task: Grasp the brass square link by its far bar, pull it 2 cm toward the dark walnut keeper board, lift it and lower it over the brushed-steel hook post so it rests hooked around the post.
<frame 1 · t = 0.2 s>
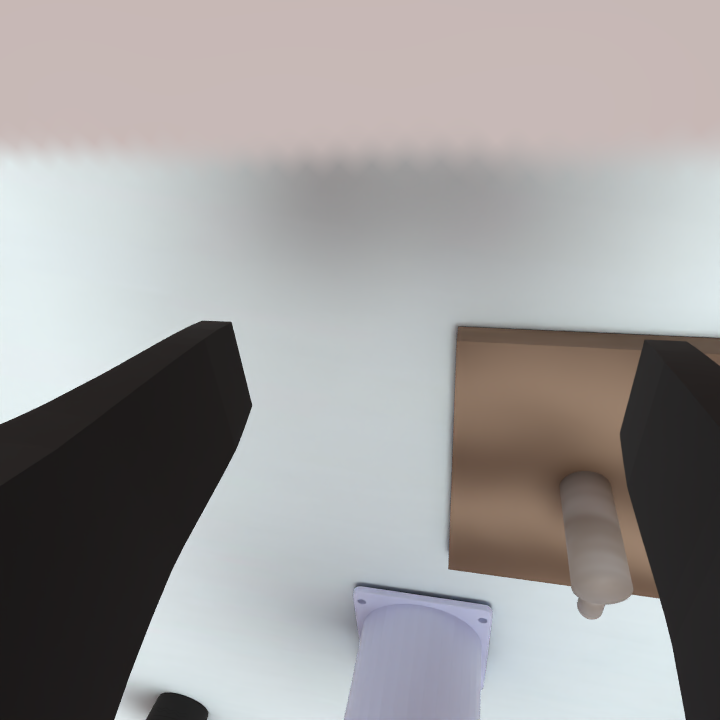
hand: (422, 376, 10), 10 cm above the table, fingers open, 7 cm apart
keeper board: (582, 470, 23), on the table
drinking cup: (184, 703, 50), on the table
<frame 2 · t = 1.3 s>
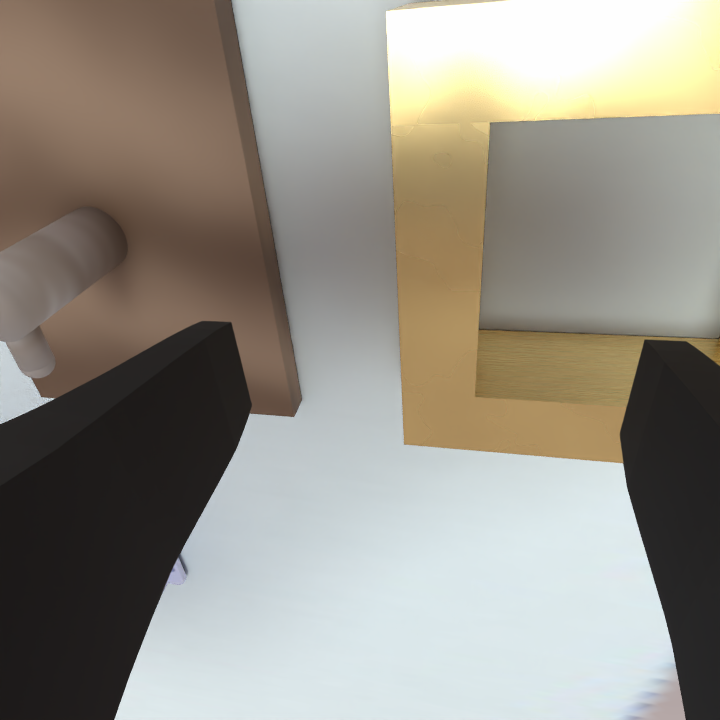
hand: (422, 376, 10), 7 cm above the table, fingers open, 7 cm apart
keeper board: (115, 225, 18), on the table
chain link: (614, 226, 15), on the table
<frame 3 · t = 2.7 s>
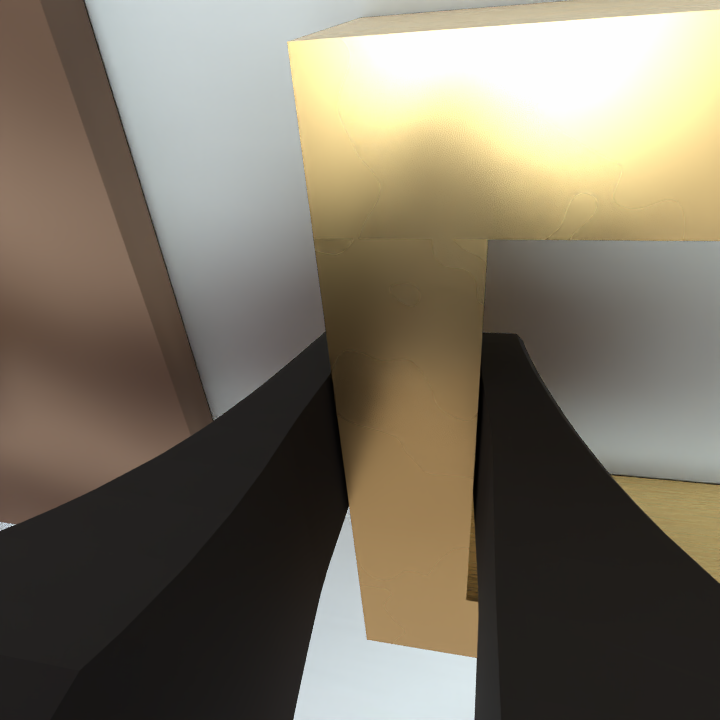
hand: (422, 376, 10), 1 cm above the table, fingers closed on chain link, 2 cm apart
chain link: (674, 345, 10), on the table, touching gripper
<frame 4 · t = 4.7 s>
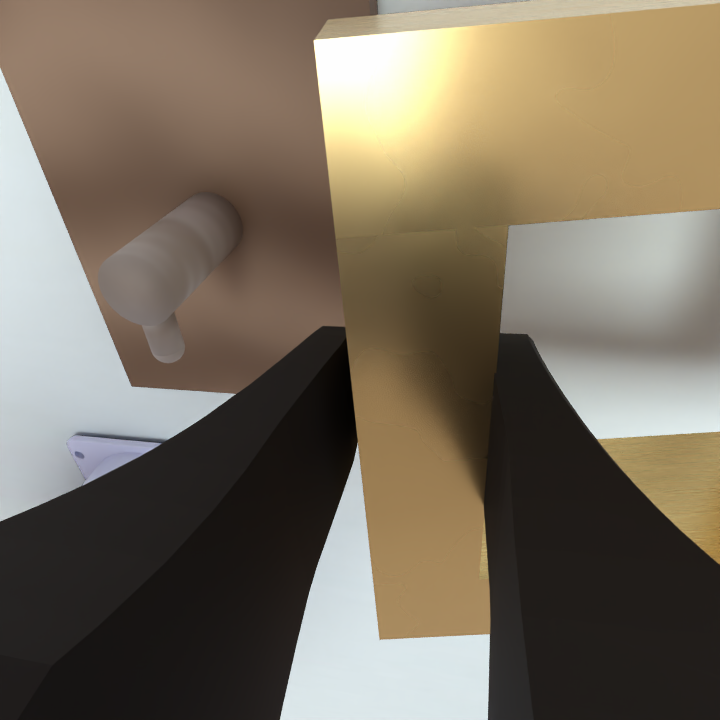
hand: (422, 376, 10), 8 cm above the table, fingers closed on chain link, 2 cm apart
keeper board: (225, 212, 18), on the table
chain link: (627, 313, 11), point 6 cm above the table, tilted 12°, touching gripper
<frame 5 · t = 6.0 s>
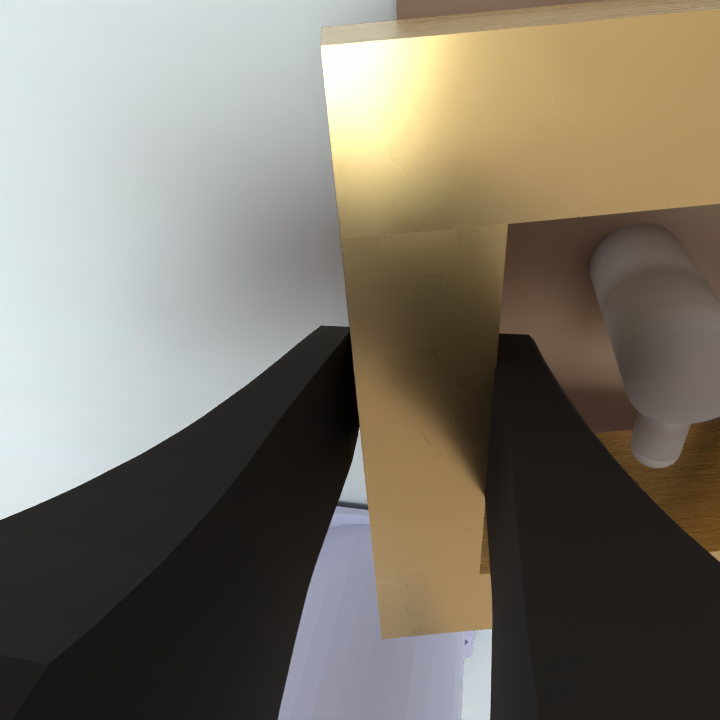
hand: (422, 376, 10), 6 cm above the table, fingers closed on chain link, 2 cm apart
keeper board: (626, 246, 14), on the table
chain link: (613, 309, 11), point 3 cm above the table, tilted 15°, touching gripper
when the fingers open (4 cm above the table, at t = 6.8 s): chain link stays where it is, resting on keeper board.
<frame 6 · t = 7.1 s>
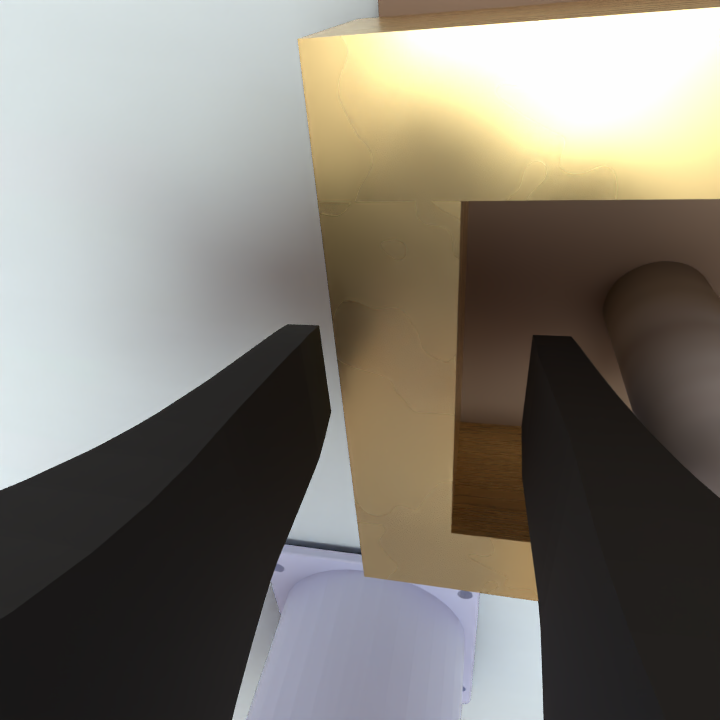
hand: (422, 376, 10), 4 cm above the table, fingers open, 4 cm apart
keeper board: (645, 283, 12), on the table
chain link: (635, 308, 11), point 1 cm above the table, touching keeper board
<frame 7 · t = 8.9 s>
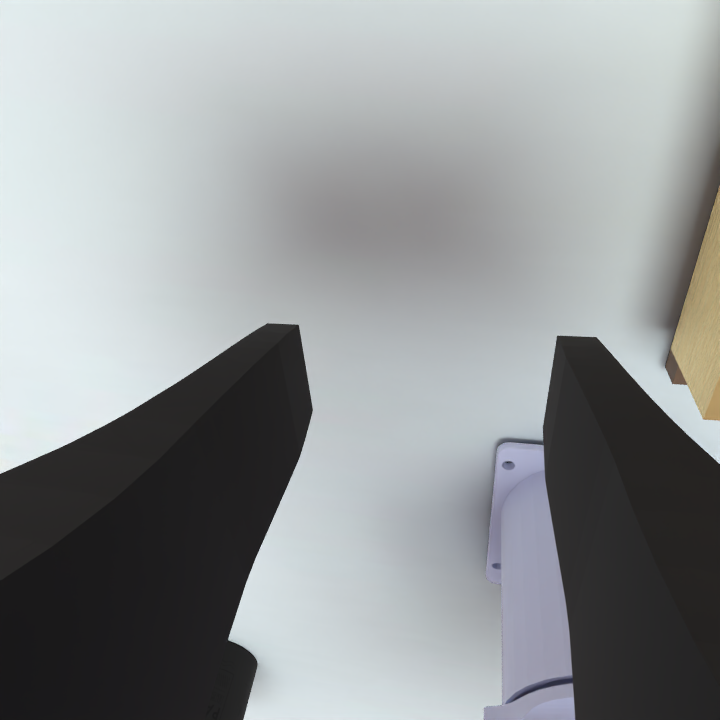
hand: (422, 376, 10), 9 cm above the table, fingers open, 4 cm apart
drinking cup: (227, 652, 40), on the table
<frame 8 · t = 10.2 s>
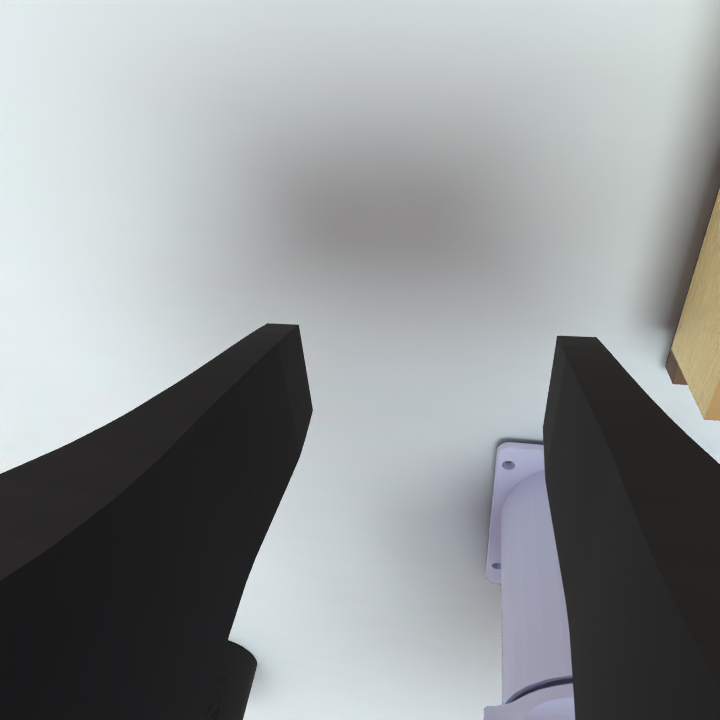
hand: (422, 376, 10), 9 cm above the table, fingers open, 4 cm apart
drinking cup: (226, 652, 40), on the table
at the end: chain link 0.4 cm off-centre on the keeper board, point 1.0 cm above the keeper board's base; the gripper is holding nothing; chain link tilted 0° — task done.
